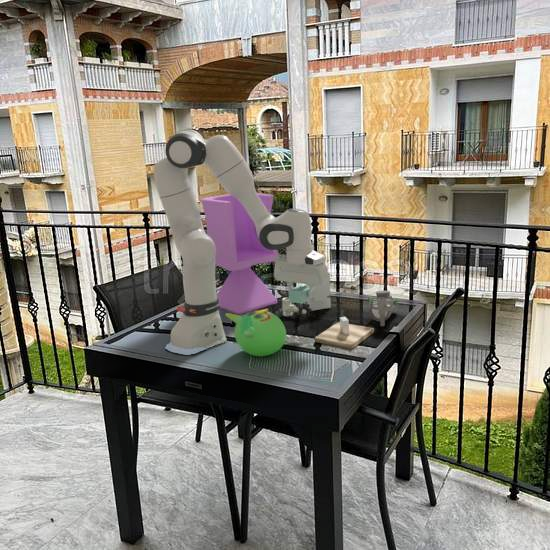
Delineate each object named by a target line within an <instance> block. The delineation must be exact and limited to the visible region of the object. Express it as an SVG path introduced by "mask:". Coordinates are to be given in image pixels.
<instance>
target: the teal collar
mask: <svg viewBox="0 0 550 550" xmlns="http://www.w3.org/2000/svg"><path fill="white" fill-rule="evenodd" d="M309 289H310V288H309V286H307V284H298V285H297V286H295V287H294V288H293V289H291V290H290V289H289V290H288V298H289V302H292V303H296V304H301V305H302V304H303V303H304V304H306V302H307V301H308V300H310V299H312V298H314V295H313V296H312V297H307V296H306V295H307V294H306V292H307V291H309Z"/></svg>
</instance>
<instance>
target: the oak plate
mask: <svg viewBox="0 0 550 550" xmlns="http://www.w3.org/2000/svg"><path fill="white" fill-rule="evenodd" d="M374 333H375V328H374V327H371V326H370V327H369V326H364V325H357V324H351V323H349V335H343V334H342V333H341V331H340V321H337V322H336V323H335V324H333V325H331V326H330V327H329V328H327V329H326V330H324V331H323V332H321V333H319V334H318V335H316V336H314V343H321V344H325V345H330V346H336V347H341V348H343V349H344V348H346V349H349V350H353V349H354V348H356V347H357V346H358V345H359V344H361V343H362V342H363V341H365V340H366V339H367V338H369V337H370V336H371V335H373V334H374Z"/></svg>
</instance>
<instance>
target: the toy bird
mask: <svg viewBox="0 0 550 550" xmlns="http://www.w3.org/2000/svg"><path fill="white" fill-rule="evenodd" d="M224 315H225V316H226V318H228V319H229V320H231V321H232V322H234V324H235V327H234V338H235V340H236V343H237V344H238V346H239V348H241V349H242V351H244V352H245V353H247V354H249V355H251V356H254V357H266V356H270V355H274V354H275V353H277V352H279V350H280V349H282V347H283V346H284V344H285V343H286V339H287V330H286V327H285V325H284V323H283V321H282V319H280V317H278V316H277V315H276V314H274V313H272V312H270V311H269V308H265V309H264V308H262V309H259V310H254V311H251V312H248V313H244V315H236V314H234V313H231V312H227V313H225V314H224Z"/></svg>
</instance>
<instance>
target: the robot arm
mask: <svg viewBox="0 0 550 550" xmlns="http://www.w3.org/2000/svg"><path fill="white" fill-rule="evenodd" d="M164 150H165V151H164V153H165V156H166V158H165V157H164V158H162V159H160V160H158V161H157V162H156V163H155V164H154V165H153V169H152V170H153V178H154V182H155V187H156V189H157V190H156V191H157V193H158V194H157V195H158V196H159V199H160V202H161V205H162V208H163V210H164V212H165V216H166V218H167V222H168V225H169V228H170V231H171V236H172V238H173V241H174V244H175V245H174V246H175V247H176V249H177V251H178V253H179V255H181V258H182V268H183V269H182V274H183V278H182V283H183V284H182V285H183V292H184V300H185V301H184V302H183V306H181V305H178V306H177V308H176V311H177V312H179V313H182V315H181V316H180V318H179V320H178V321H177V322H176V323H175V325H174V326H173V327H172V329H171V332H170V342H171V345H173V346H176V347H179V348H184V349H194V348H198V347H199V348H201V347H203V348H207V347H210V346H213V345H217V344H220V345H222V344H224V342H225V343H227V342H228V341H227V337H226V336H227V334H226V332H225V330H224V326H223V322H222V318H221V314H220V308H219V300H218V298H217V293H218V292H217V285H216V265H215V255H216V248H215V244H214V242H213V240H212V239H211V238H210V237H209V236H208V235H207V232H206V231H205V229H204V225H203V221H202V215H201V212H200V211H201V210H200V207H199V204H198V203H199V202H198V200H197V197H196V195H195V191H194V189H193V186H192V183H191V180H190V177H189V169H190V168H193V167H197V166H202V165H205V166H207V167H208V168H209V170H210V171H211V173H212V174H213V176H214V177H215V179H216V180H217V182H218V183H219V185H220V186H221V187H222V188H223V189H224V190H225V191H226V193H227V194H230V195H232V196H233V197H235V198H236V199H238V200H239V201H240V202H241V204H242V205H243V206H244V208H245V209H246V211H247V213H248V214H249V216H250V217H251V219H252V220H253V223H254V226H255V233H256V236H257V238H258V239H259V241H260V243H261V244H262V246H263V247H265V248H266V249H269V250H277V251H278V250H280V249H285V250H286V251H285V253H286V254H281V253H280V254H278V255H277V256H276V257H275V261H274V273H273V275H274V279H275V280H276V281H278V282H279V281H281V282H285V283H286V286H287V288H288V289H289V290H291V289H293V288H295V287H294V285H293V284H299V285H309V288H310V289H309V291H307V292H306V294H307V295H306V296H307V297H312V296H313V290H314V288H315V286H324V285H326V284H327V282H328V272H329V270H328V267H327V264H326V263H325V262H326V259H327V257H326V256H325V254H322V253H319V252H318V251H316V250H314V249H313V245H312V241H311V239H312V222H311V221H312V220H311V216H310V214H309V213H308V212H307V211H306V210H304V209H299V208H287V209H286V210H285V211H284V212H283V213H281V214H280V215H279V216H277V217H276V216H275V215H273V214H272V213H271V214H270V213H269V212H268V210H267V209H266V207H265V206H264V204H263V203H262V201H261V199H260V198H259V196H258V194H257V193H258V192H257V190H256V186H255V182H254V179H255V178H254V176H253V173H252V170H251V169H250V166H249V164H248V162H247V161H246V159H245V157H244V156H243V155H242V154H241V152H240V151H239V149H238V147H236V145H235V144H234V143H233V142H232V140H230V138H229V137H228V136H226V135H225V134H216V135H213V136H212V137H209V138H207V139H206V138H205V136H204V134H203V133H202V132H200V131H199V130H198V129H194V128H185V129H181V130H179V131H177V132H176V133H174V134H173V135H172V136H171V137H169V139H168V140H167V142H166V144H165V149H164ZM226 341H227V342H226ZM221 343H222V344H221ZM217 346H218V345H217Z"/></svg>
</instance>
